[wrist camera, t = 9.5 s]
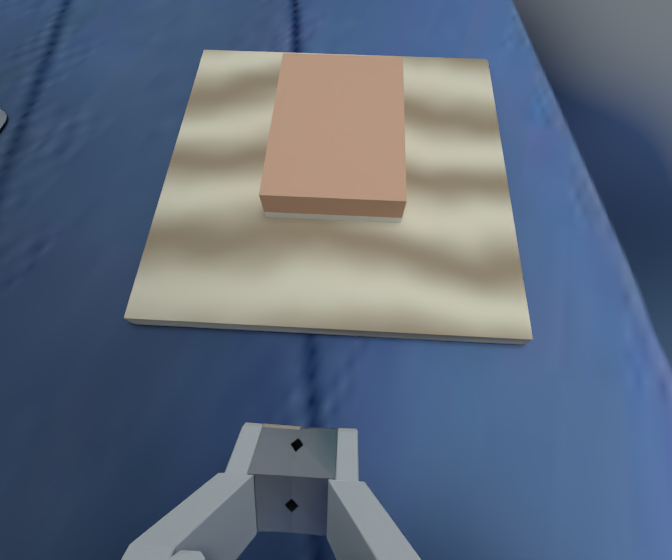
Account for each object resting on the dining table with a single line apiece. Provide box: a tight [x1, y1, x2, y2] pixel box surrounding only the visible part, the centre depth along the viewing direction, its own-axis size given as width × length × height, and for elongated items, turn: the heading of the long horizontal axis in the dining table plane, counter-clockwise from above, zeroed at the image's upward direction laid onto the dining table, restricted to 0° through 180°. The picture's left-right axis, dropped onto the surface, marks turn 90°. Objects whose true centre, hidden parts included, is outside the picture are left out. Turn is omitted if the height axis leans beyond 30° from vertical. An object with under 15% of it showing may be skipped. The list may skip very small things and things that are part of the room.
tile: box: [259, 53, 407, 223], centre depth 26 cm, size 9×2×13 cm
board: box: [124, 50, 533, 345], centre depth 27 cm, size 24×24×1 cm
